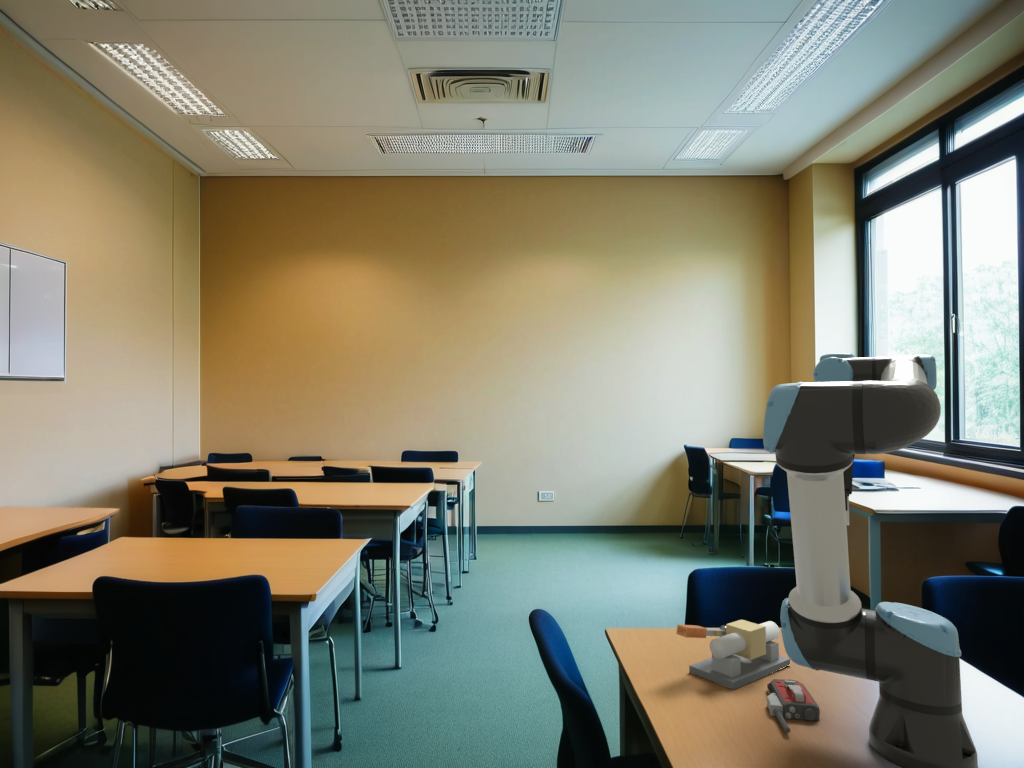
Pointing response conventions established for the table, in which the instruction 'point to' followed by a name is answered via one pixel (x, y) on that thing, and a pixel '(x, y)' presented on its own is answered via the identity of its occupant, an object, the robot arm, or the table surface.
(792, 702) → the walkie-talkie
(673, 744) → the table surface
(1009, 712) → the table surface
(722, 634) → the valve lever
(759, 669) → the valve rig
